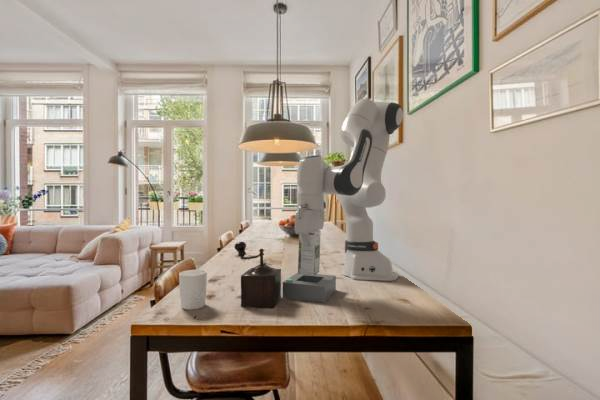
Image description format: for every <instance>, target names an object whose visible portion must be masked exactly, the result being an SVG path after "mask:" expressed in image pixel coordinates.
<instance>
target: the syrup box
mask: <svg viewBox="0 0 600 400" xmlns="http://www.w3.org/2000/svg"><path fill="white" fill-rule="evenodd" d="M309 241H310V246H309V247H303V240H302V234H298V257H297V258H298V263H297V273H298V274H303V275H315V274H319V272H320V258H321V257H320V255H321V230H315V231H312V232H311V233H309Z"/></svg>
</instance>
